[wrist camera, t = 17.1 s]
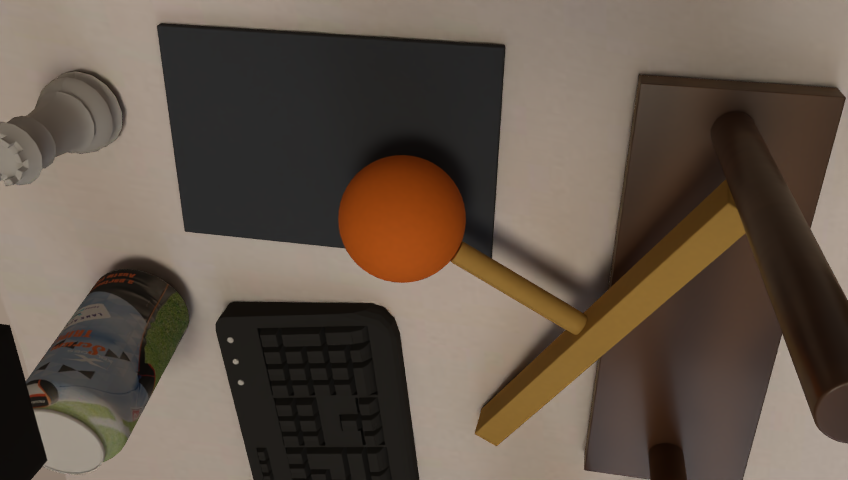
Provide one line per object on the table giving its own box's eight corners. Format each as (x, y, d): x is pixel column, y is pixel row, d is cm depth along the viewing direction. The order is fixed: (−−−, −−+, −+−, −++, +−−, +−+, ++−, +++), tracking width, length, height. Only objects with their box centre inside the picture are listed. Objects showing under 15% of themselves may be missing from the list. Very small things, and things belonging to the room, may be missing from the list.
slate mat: (505, 44, 39) (504, 47, 39) (491, 259, 45) (490, 263, 45) (160, 23, 42) (156, 25, 42) (188, 228, 48) (184, 231, 47)
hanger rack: (837, 87, 38) (1091, 371, 18) (735, 474, 49) (827, 900, 30) (639, 74, 39) (683, 324, 20) (584, 453, 50) (578, 847, 31)
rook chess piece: (43, 67, 45) (-58, 114, 38) (118, 69, 44) (28, 118, 37) (62, 143, 47) (-31, 201, 40) (133, 147, 46) (51, 206, 39)
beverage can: (155, 242, 49) (36, 359, 38) (226, 336, 51) (132, 470, 41) (83, 279, 51) (-47, 400, 41) (154, 367, 53) (48, 502, 43)
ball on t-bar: (467, -18, 35) (756, 167, 37) (297, 271, 50) (510, 393, 52) (427, 47, 31) (761, 255, 32) (253, 345, 45) (488, 477, 47)
